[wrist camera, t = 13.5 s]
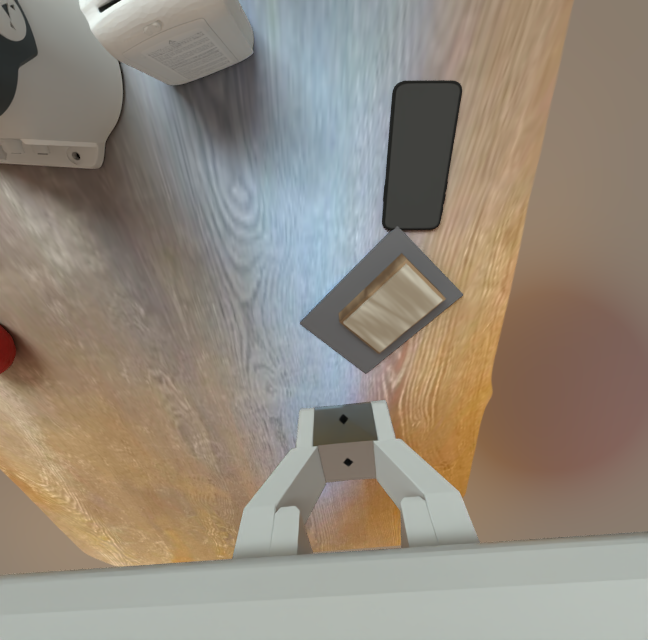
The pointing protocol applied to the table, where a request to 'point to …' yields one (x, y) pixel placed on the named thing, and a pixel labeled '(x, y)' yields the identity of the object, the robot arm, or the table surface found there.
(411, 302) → the wooden block
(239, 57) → the photo printer
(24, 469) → the table surface
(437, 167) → the smartphone
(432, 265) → the mat
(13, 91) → the robot arm
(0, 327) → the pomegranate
